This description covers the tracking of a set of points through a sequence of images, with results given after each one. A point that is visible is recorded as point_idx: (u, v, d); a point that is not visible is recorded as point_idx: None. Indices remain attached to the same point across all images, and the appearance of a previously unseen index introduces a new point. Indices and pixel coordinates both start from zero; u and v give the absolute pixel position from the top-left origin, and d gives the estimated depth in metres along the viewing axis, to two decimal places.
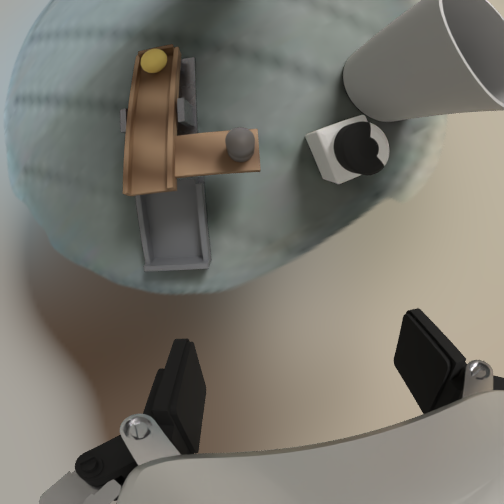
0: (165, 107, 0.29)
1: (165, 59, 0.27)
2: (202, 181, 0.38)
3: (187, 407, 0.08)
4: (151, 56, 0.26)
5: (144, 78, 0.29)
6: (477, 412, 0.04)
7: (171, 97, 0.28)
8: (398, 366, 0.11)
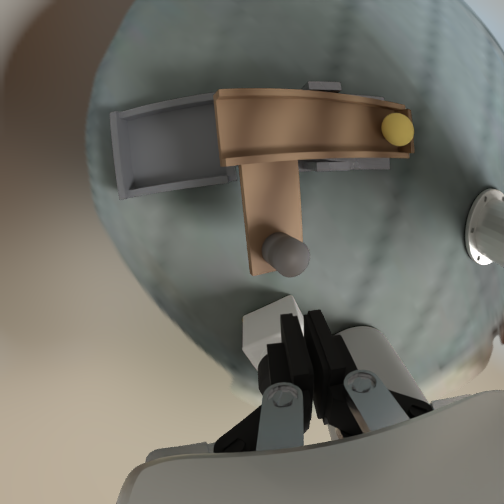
0: (336, 143, 0.23)
1: (398, 145, 0.23)
2: (230, 179, 0.30)
3: None
4: (406, 131, 0.22)
5: (374, 113, 0.24)
6: (477, 412, 0.04)
7: (349, 154, 0.23)
8: None
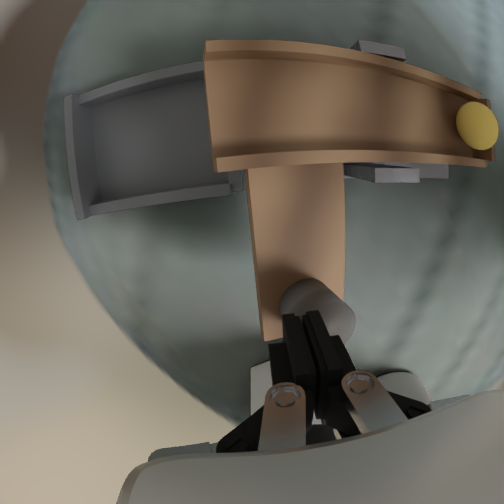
0: (400, 138, 0.14)
1: (479, 148, 0.13)
2: (234, 189, 0.20)
3: None
4: (492, 129, 0.11)
5: (446, 100, 0.13)
6: (477, 412, 0.04)
7: (420, 156, 0.13)
8: None
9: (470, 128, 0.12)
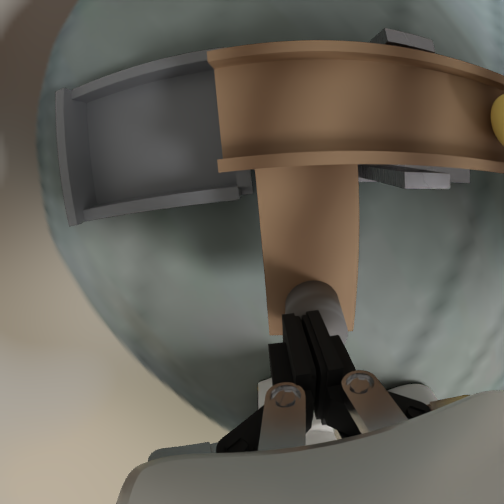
0: (430, 139, 0.11)
1: None
2: (242, 192, 0.18)
3: None
4: None
5: (492, 96, 0.09)
6: (477, 412, 0.04)
7: (450, 160, 0.10)
8: None
9: (493, 126, 0.09)
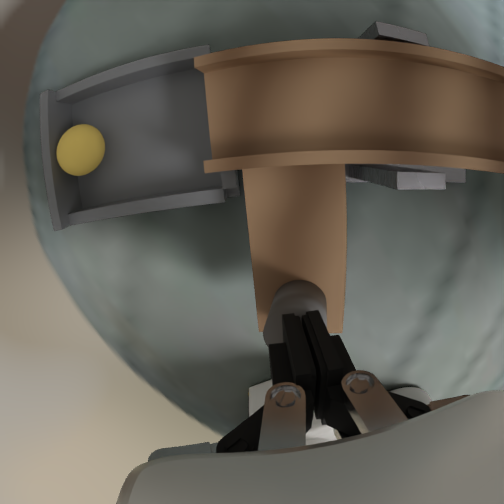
0: (424, 137, 0.11)
1: (89, 172, 0.15)
2: (229, 194, 0.18)
3: None
4: None
5: (495, 91, 0.08)
6: (477, 412, 0.04)
7: (443, 159, 0.10)
8: None
9: (100, 150, 0.15)
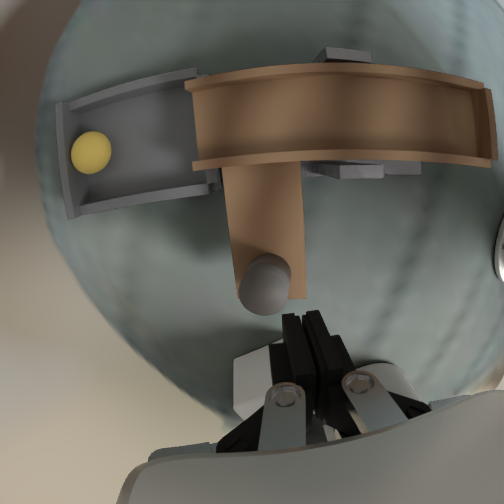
0: (365, 137, 0.15)
1: (98, 171, 0.19)
2: (212, 188, 0.22)
3: None
4: None
5: (435, 93, 0.13)
6: (477, 412, 0.04)
7: (379, 154, 0.14)
8: None
9: (108, 152, 0.18)
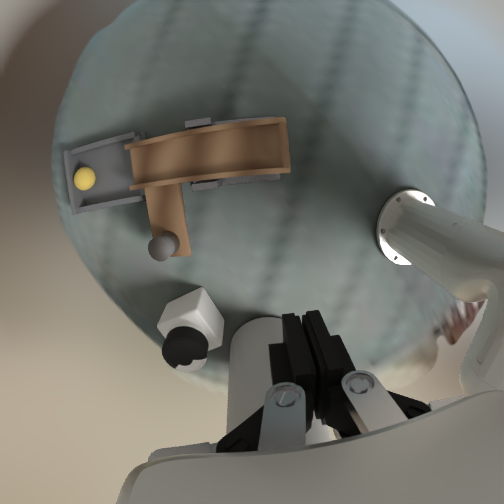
0: (208, 166, 0.31)
1: (89, 188, 0.35)
2: None
3: None
4: None
5: (251, 133, 0.29)
6: (477, 412, 0.04)
7: (210, 176, 0.30)
8: None
9: (93, 179, 0.35)
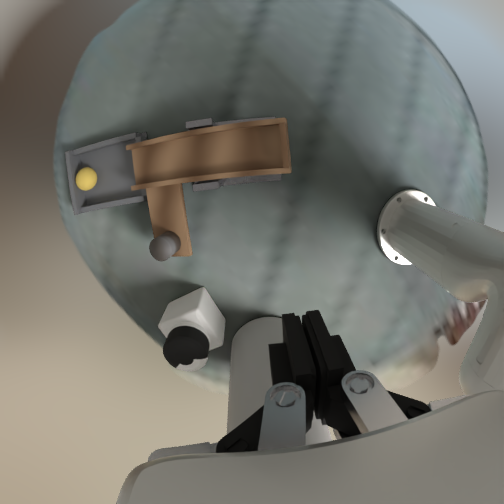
0: (209, 167, 0.31)
1: None
2: None
3: None
4: None
5: (252, 133, 0.29)
6: (477, 412, 0.04)
7: (211, 176, 0.30)
8: None
9: (95, 179, 0.35)
